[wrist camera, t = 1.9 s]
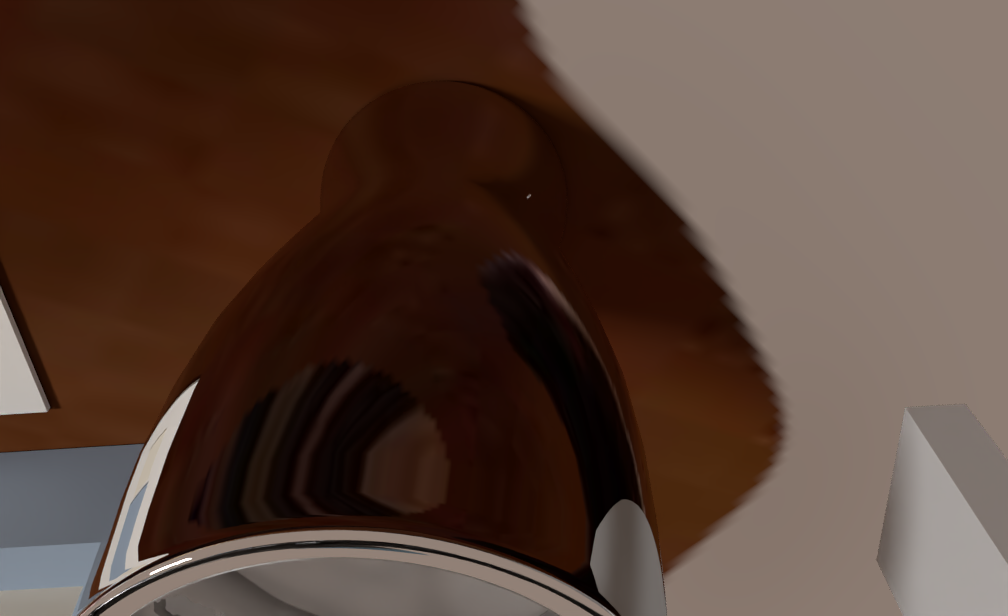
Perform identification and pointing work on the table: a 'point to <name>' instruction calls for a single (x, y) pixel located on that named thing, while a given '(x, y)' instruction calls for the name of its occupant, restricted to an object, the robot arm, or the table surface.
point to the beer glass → (400, 404)
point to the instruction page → (17, 370)
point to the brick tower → (55, 522)
